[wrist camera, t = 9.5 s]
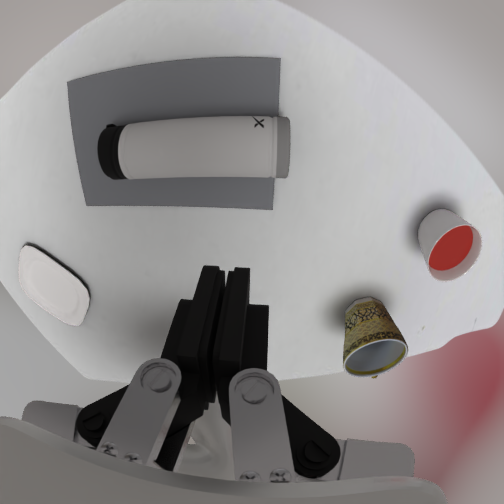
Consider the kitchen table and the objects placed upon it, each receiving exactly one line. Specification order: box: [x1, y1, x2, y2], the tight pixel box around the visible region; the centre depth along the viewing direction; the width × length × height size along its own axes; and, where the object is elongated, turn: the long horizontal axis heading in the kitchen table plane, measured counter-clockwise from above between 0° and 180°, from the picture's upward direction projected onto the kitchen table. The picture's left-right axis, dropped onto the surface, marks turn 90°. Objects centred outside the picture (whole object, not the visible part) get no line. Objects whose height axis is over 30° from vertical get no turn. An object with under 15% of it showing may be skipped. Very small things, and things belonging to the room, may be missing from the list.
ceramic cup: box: [343, 297, 408, 378], centre depth 42 cm, size 13×10×10 cm
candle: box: [418, 209, 482, 282], centre depth 33 cm, size 9×9×6 cm
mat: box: [67, 57, 281, 210], centre depth 31 cm, size 18×26×1 cm
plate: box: [18, 245, 90, 326], centre depth 47 cm, size 18×18×2 cm
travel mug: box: [97, 116, 290, 180], centre depth 28 cm, size 6×7×20 cm
